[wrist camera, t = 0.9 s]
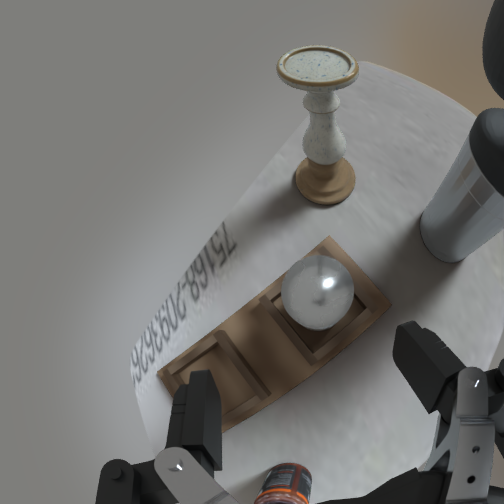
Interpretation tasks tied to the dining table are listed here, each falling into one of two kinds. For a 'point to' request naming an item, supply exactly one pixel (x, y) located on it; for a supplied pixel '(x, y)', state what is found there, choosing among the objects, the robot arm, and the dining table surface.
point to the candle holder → (321, 119)
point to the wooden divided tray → (273, 345)
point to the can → (317, 292)
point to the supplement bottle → (286, 485)
